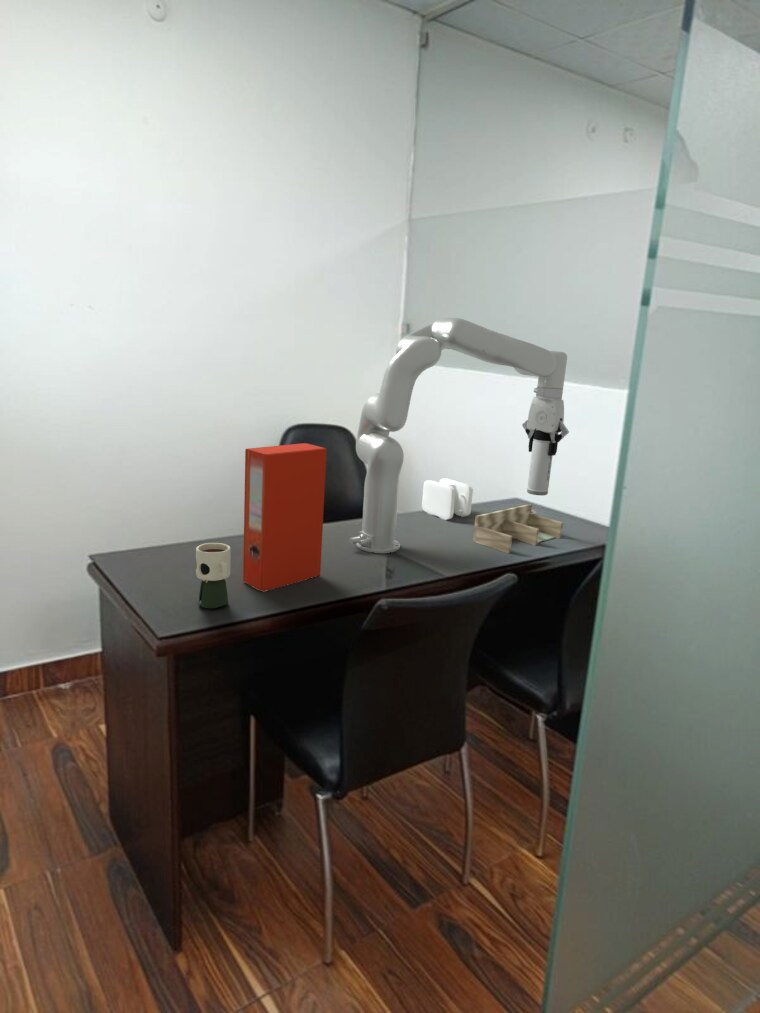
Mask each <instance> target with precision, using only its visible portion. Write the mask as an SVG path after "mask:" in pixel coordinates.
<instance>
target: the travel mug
mask: <svg viewBox="0 0 760 1013" xmlns="http://www.w3.org/2000/svg"><path fill="white" fill-rule="evenodd" d="M533 440H534V441H533V446H532V452H531V455H530V465H529V472H528V481H527V487H526V492H527V493H528V494H529V495H534V496H546V495H548V494H549V487H550V479H551V471H552V470H551V469H552V465H553V463H552V462H553V456H549V455H548V451H549V444H550V442H552V441H551V437H550V433H545V432H543V431H541V430H537V431H536V429H535V430H534V438H533Z"/></svg>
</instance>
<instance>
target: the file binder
mask: <svg viewBox="0 0 760 1013" xmlns="http://www.w3.org/2000/svg"><path fill="white" fill-rule="evenodd" d="M244 454H245V455H244V460H245V461H244V503H243V504H244V507H243V508H244V509H243V511H244V513H243V556H242V557H243V558H242V559H243V563H242V564H243V566H242V567H243V568H242V571H243V572H242V582H243V581H244V582H246V583H248V584H250V585H251V586H254V587H255V588H257V589H259V590H262V591H265V590H270V589H273V588H277V587H280V588H282V587H281V586H284V585H287V584H291V583H294V584H296V583H295V582H298V581H301V580H305V579H308V578H311V577H315V576H318V575H320V576H321V572H322V571H321V567H322V551H323V550H322V546H323V527H324V509H325V508H324V506H325V505H324V504H325V490H326V489H325V487H326V486H325V485H326V484H325V483H326V466H327V464H326V463H327V448H326V447H322V446H318V445H315V444H310V443H307V442H304V443H294V444H293V443H292V444H283V445H282V444H281V445H280V444H279V445H270V446H261V447H251V448H245V451H244ZM305 581H306V580H305ZM244 582H243V583H244ZM298 583H299V582H298ZM291 585H292V584H291ZM251 586H250V587H251ZM287 586H288V585H287ZM284 587H285V586H284ZM255 588H254V589H255ZM257 589H256V590H257ZM277 589H278V588H277ZM259 590H258V591H259ZM273 590H274V589H273ZM270 591H271V590H270Z"/></svg>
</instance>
